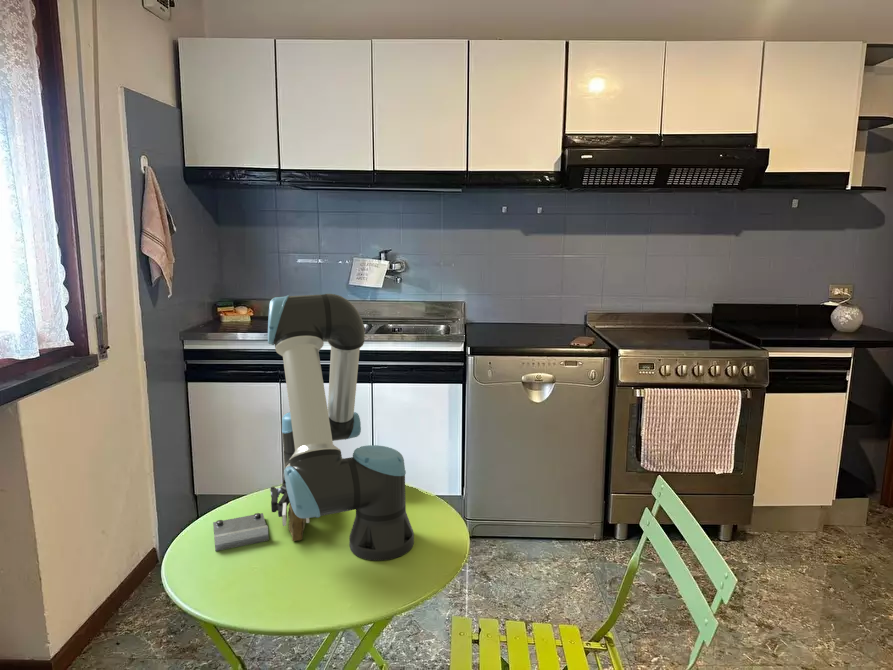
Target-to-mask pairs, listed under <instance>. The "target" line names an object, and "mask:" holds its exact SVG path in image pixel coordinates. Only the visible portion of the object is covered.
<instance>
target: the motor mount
mask: <svg viewBox="0 0 893 670" xmlns="http://www.w3.org/2000/svg"><path fill="white" fill-rule="evenodd" d="M212 525H213V538H214V550H215V552H219V551H222V550H228V549H233V548H238V547H243V546H248V545H252V544H258V543H263V542H268V541H269V539H270V538H269V527H268V525H267V523H266V521H265V517H264V513H263V512H260V513H259V512H257V513H254V514H250V515H245V516H240V517H234V518H229V519H223V520H222V519H219V520H216V521H213V522H212Z"/></svg>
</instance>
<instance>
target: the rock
mask: <svg viewBox="0 0 893 670" xmlns="http://www.w3.org/2000/svg"><path fill="white" fill-rule="evenodd" d="M288 506H289V507H288V510H287V517H288V519H289V521H288V531H289V533H290V535H291V536H292V537H291V540H292V542H295V541H302V540H303V536H304V530H305V527H306V518H299V517H297V516H296V515H295V513H294V511H293V509H292V506H291V503H290V502H289V504H288Z"/></svg>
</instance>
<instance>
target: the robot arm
mask: <svg viewBox="0 0 893 670" xmlns="http://www.w3.org/2000/svg"><path fill="white" fill-rule="evenodd" d="M268 307H269V308H268V318H267V319H268V320H267V344H269V345H272V346H274V349H275V352H276V353H277V354H278V355H279V356H281V357H282V360H283V369H284V375H285V382H286V392H287V397H288V406H289V412H287V413H285V414H284V415H283V416H282V418H281V419H282V420H281V432H282V446H283V447H282V448H283V463H284V464H283V465H284V466H283V467H284V468H283V477H282V484H281V485H280V487H278V488H277V487H275V486H272V487H269V489H270V497H271V500H270V507H271V513H278V514H277V515H278V517H279V518H282V519H281V520H282V526H284V527H285V526H287V519H288V518H287V517H288V510H287V509H288V506H289V503H291V506H292V509H293V511H294V513H295V515H296V516H297V517H299V518H306V522H305V524H309V523H310V518H320V517H322V516H328V515H333V514H337V513H338V514H339V513H344V512H349V511H354V510H355V517H354V520H353V523H352V527H351V531H350V533H349V538H348V539H349V549H350V551H351V553H352V554H353V555H355V556H356V557H358V558H360V559H363V560H368V561H378V562H379V561H387V560H393V559H397V558H399V557H402V556H404V555H406V554H407V553H408V552H410V550H412V548H413V547H414V543H415V538H414V535H415V534H414V529H413V526H412V524H411V522H410V519H409V515H408V513H407V507H406V504H407V503H406V502H407V501H406V473H407V472H406V467H405V459H404V456H403V455H402V453H401V452H400V451H398V450H397V449H394V448H392V447H389V446H384V445H378V444H377V445H376V444H375V445H374V444H373V445H372V444H370V445H362V446H359V447H357V448H355V449H354V450H353V453H352V457H347V458H343V457H342V455H343V454H342V451H341V449H340V448H338V447H337V446H335V444H334V441H342V440H345V441H346V440H349V439H353V438H357V437H359V436H360V434H361V432H362V427H361V417H360V415H359V413H358V412H355V404H356V396H357V395H356V394H357V392H356V391H357V383H358V371H359V359H360V349H361V348H362V347H363V345H364V344H365V337H366V332H365V326H364V322H363V319H362V316H361V314H360V312H359V311H358V309H357V308H356V307H355V305H354V304H352V302H351V301H350V300H348V299H346V298H345V297H343V296H341V295H338V294H334V293H324V294H304V295H289V294H287V295H285V296H279V297H278V296H275V297H273V298H272V299H271V300H270V301H269V305H268ZM324 341H327V343H328V345H329V346H330V361H329V362H330V363H329V382H328V395H327V396H328V399H327V397H326V390H325V384H324V379H323V371H322V366H321V365H322V364H321V359H320V353H319V352H320V351H321V349H322V348H323V347H324V345H325V344H324ZM280 494H281V495H282V497H280ZM279 497H280V500H278V499H279Z"/></svg>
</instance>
